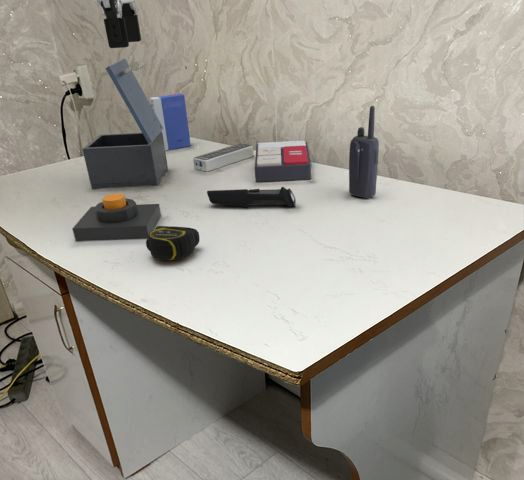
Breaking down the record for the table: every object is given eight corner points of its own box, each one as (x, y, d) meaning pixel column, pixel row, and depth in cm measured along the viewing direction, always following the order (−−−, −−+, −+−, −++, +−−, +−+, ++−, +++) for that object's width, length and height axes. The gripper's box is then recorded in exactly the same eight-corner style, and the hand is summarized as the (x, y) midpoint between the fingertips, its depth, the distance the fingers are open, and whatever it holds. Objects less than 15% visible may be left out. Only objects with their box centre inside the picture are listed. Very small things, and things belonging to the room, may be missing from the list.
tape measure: (203, 247, 81) (200, 224, 79) (185, 267, 76) (181, 242, 74) (162, 244, 83) (158, 221, 81) (141, 263, 78) (136, 239, 75)
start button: (101, 211, 86) (99, 201, 85) (107, 204, 89) (105, 193, 88) (123, 210, 86) (121, 200, 85) (129, 203, 89) (127, 192, 88)
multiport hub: (254, 155, 122) (253, 145, 121) (206, 171, 114) (205, 160, 112) (241, 153, 125) (240, 142, 123) (193, 168, 116) (192, 157, 115)
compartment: (91, 188, 109) (82, 148, 104) (107, 171, 118) (99, 134, 114) (157, 185, 108) (150, 145, 103) (168, 168, 117) (162, 131, 113)
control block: (75, 241, 86) (69, 217, 84) (94, 218, 94) (88, 196, 92) (148, 238, 85) (144, 214, 83) (161, 215, 93) (157, 193, 91)
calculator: (254, 163, 104) (256, 140, 115) (255, 185, 106) (257, 160, 118) (311, 160, 103) (307, 137, 115) (311, 182, 106) (307, 157, 118)
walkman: (187, 143, 135) (180, 91, 128) (190, 146, 133) (184, 93, 126) (157, 149, 132) (148, 96, 125) (160, 151, 130) (151, 97, 123)
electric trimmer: (211, 203, 98) (209, 186, 96) (296, 201, 96) (295, 183, 94) (207, 211, 95) (204, 193, 93) (294, 208, 93) (294, 190, 91)
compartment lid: (105, 68, 96) (128, 54, 95) (121, 60, 106) (143, 47, 104) (148, 143, 103) (170, 132, 102) (160, 129, 113) (180, 119, 111)
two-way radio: (379, 196, 95) (386, 105, 87) (363, 202, 93) (367, 110, 85) (356, 189, 99) (360, 101, 90) (339, 195, 97) (342, 106, 88)
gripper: (94, -77, 89) (116, 41, 99) (60, -88, 75) (90, 51, 84) (138, -81, 88) (157, 38, 98) (113, -93, 74) (137, 48, 84)
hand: (126, 44), depth 91 cm, fingers open, 9 cm apart
